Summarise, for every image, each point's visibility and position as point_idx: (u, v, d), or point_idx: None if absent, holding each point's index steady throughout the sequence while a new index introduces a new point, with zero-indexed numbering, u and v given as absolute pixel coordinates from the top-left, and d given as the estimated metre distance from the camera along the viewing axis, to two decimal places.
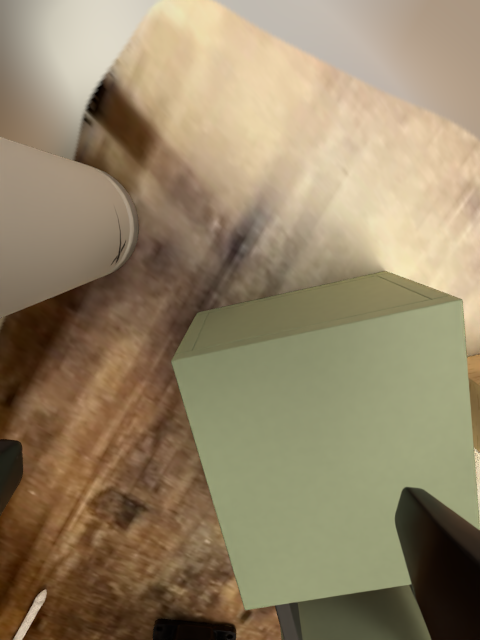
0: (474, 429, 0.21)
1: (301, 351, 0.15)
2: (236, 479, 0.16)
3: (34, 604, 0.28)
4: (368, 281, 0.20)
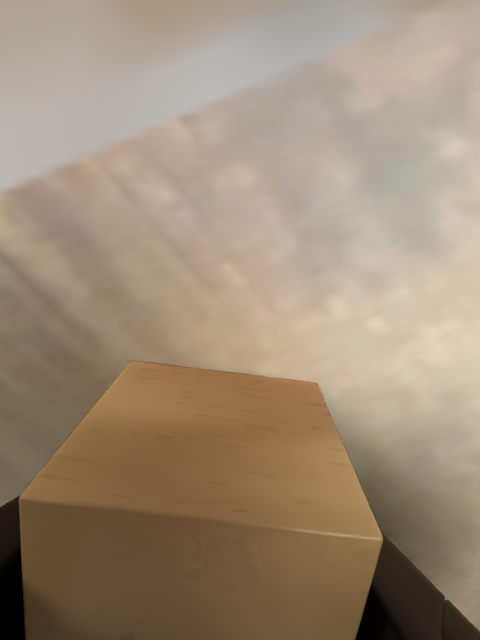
0: None
1: None
2: None
3: None
4: None
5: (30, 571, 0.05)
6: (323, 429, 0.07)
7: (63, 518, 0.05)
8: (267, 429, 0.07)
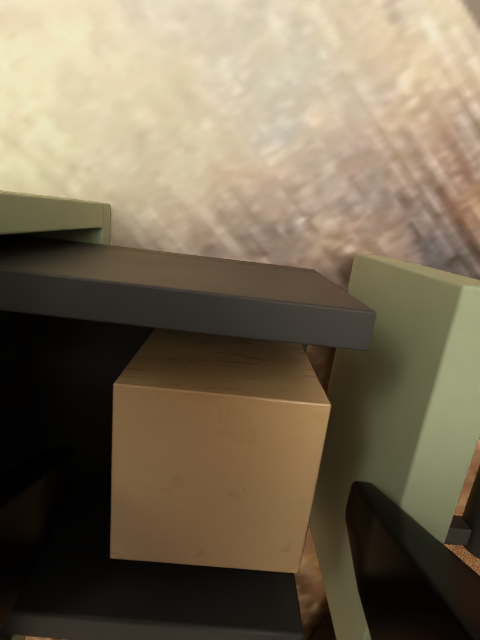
0: None
1: None
2: None
3: None
4: None
5: (117, 433, 0.08)
6: (300, 360, 0.10)
7: (139, 397, 0.08)
8: (262, 359, 0.10)
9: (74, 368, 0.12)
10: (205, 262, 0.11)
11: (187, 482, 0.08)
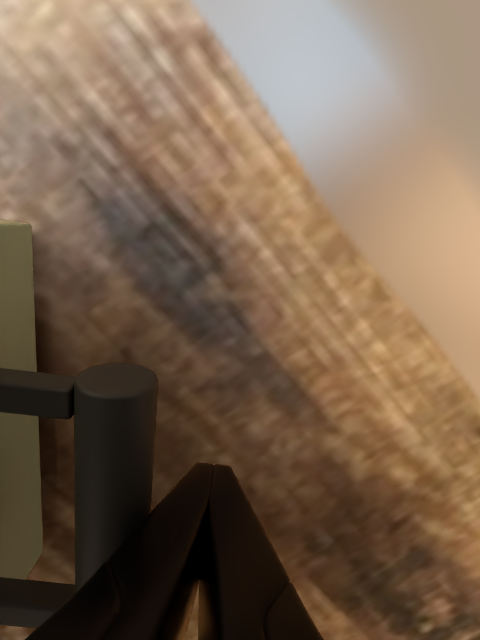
0: None
1: None
2: None
3: None
4: None
5: None
6: None
7: None
8: None
9: None
10: None
11: None
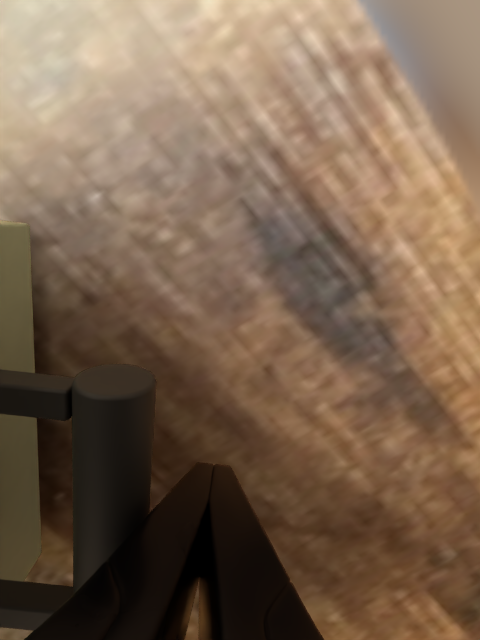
0: None
1: None
2: None
3: None
4: None
5: None
6: None
7: None
8: None
9: None
10: None
11: None
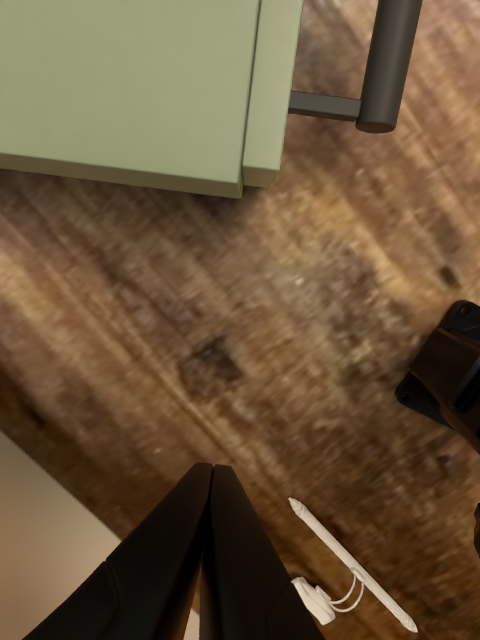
0: None
1: None
2: None
3: (301, 517, 0.23)
4: None
5: None
6: None
7: None
8: None
9: None
10: None
11: None
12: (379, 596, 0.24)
